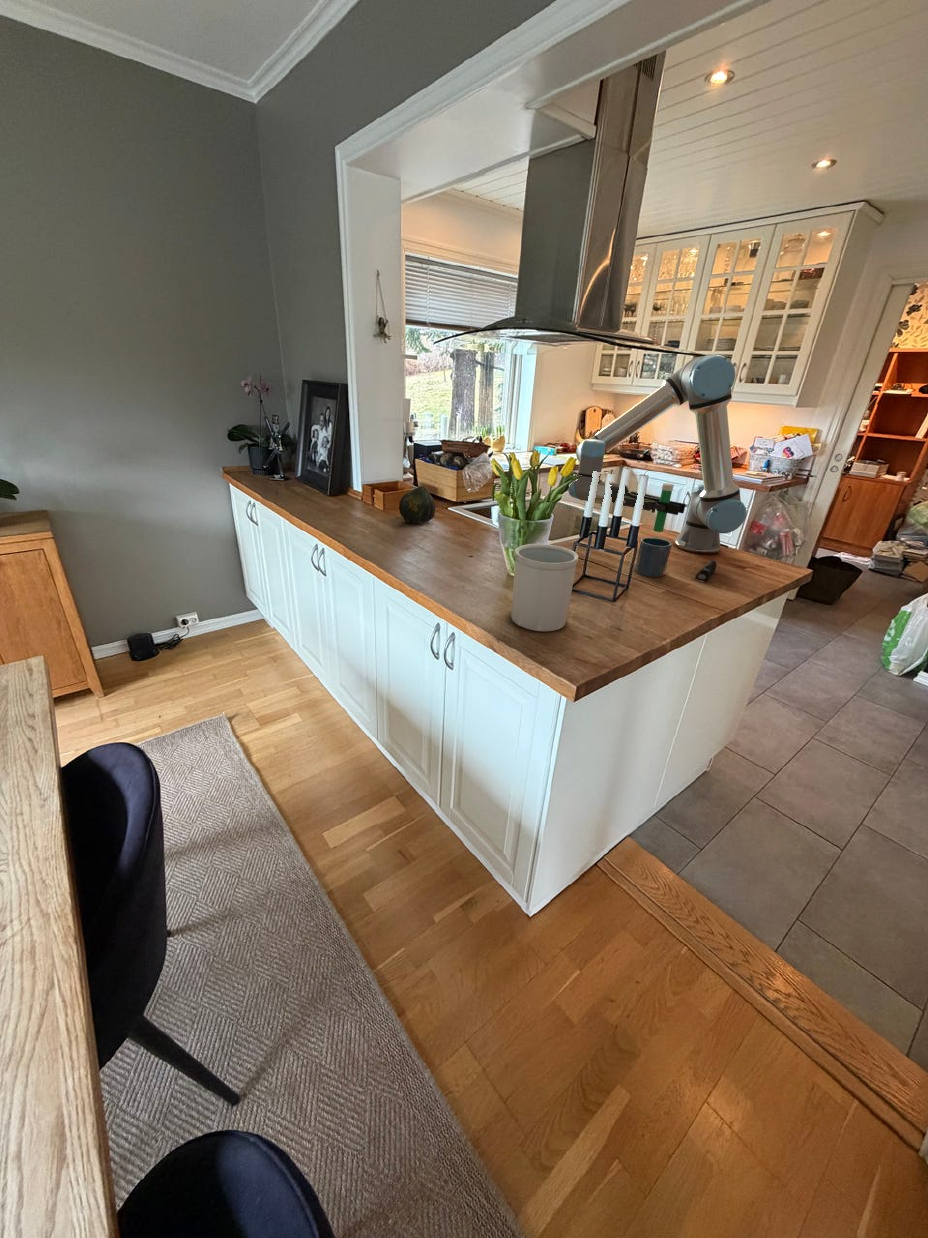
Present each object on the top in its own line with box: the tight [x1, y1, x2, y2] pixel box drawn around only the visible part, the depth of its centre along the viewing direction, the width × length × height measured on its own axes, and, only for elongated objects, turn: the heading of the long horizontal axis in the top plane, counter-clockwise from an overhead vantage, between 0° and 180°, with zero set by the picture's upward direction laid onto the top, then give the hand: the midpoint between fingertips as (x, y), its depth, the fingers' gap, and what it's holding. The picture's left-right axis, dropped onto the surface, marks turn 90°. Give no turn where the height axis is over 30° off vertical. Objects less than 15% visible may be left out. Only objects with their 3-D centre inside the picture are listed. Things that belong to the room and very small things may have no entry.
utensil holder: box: [510, 543, 579, 632], centre depth 117 cm, size 15×15×18 cm
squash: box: [398, 485, 436, 524], centre depth 196 cm, size 14×15×15 cm
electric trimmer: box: [695, 560, 717, 583], centre depth 154 cm, size 4×16×3 cm, turn 142°
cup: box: [634, 537, 672, 578], centre depth 153 cm, size 9×9×10 cm
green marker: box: [653, 482, 675, 533], centre depth 145 cm, size 3×3×14 cm
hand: (681, 509), depth 142 cm, fingers closed on green marker, 3 cm apart
